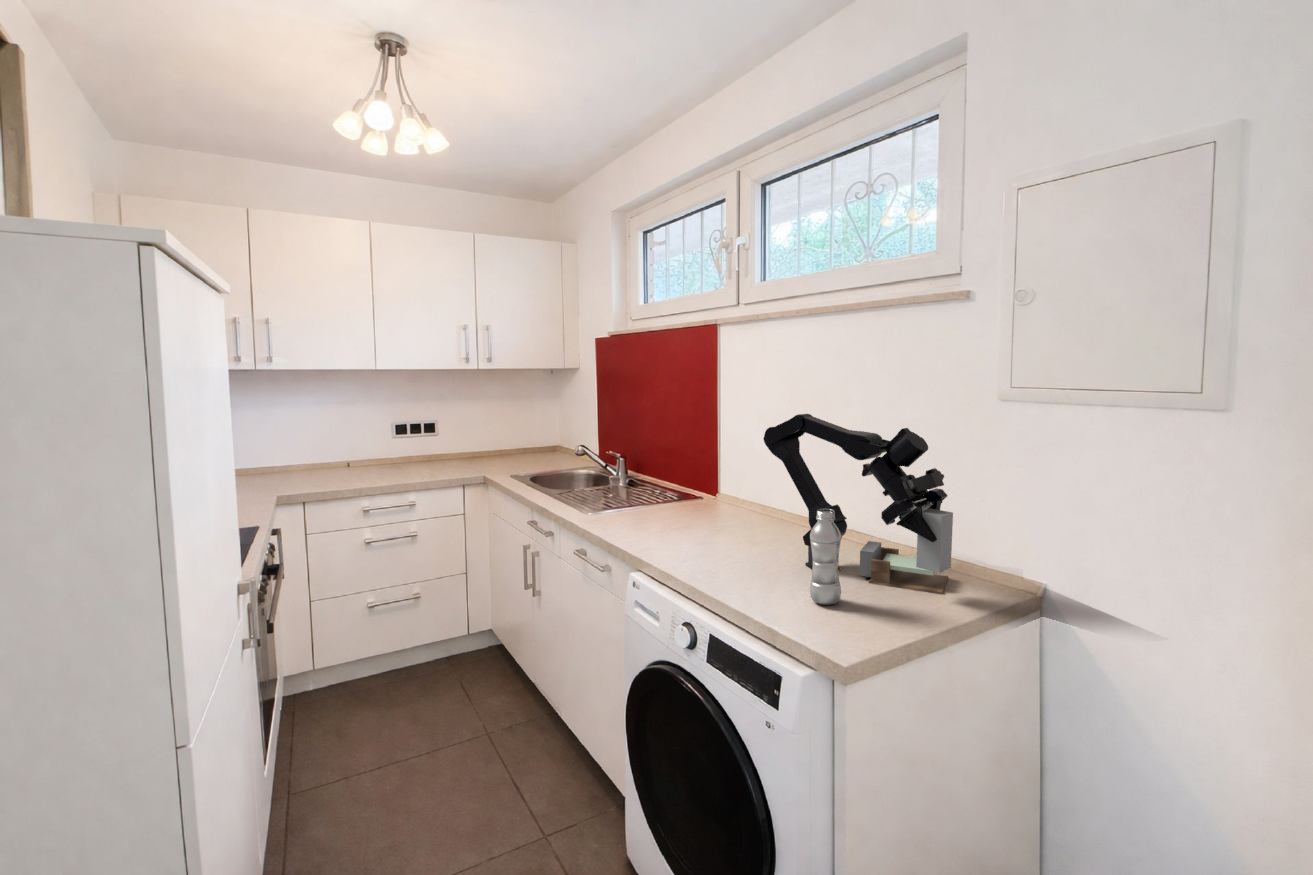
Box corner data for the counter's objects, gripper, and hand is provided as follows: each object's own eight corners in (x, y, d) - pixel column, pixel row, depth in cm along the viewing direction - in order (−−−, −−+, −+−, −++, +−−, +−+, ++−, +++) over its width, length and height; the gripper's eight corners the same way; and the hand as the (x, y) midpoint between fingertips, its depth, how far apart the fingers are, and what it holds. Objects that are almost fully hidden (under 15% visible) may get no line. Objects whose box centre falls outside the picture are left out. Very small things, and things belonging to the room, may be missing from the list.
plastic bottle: (846, 601, 131) (847, 509, 128) (832, 611, 126) (832, 516, 123) (818, 594, 135) (819, 505, 133) (803, 603, 130) (803, 511, 128)
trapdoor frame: (868, 582, 141) (868, 559, 141) (879, 568, 151) (879, 546, 151) (942, 594, 133) (942, 569, 133) (948, 578, 143) (948, 555, 143)
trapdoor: (859, 575, 144) (860, 550, 143) (868, 564, 151) (868, 541, 151) (933, 586, 135) (933, 560, 135) (938, 574, 143) (938, 549, 142)
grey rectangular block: (916, 567, 131) (918, 512, 129) (927, 562, 134) (929, 508, 132) (939, 572, 127) (941, 516, 125) (950, 567, 130) (953, 512, 129)
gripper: (896, 462, 125) (948, 525, 118) (940, 452, 137) (990, 509, 129) (861, 494, 132) (908, 555, 125) (905, 482, 144) (951, 537, 136)
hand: (941, 538), depth 129 cm, fingers closed on grey rectangular block, 5 cm apart
